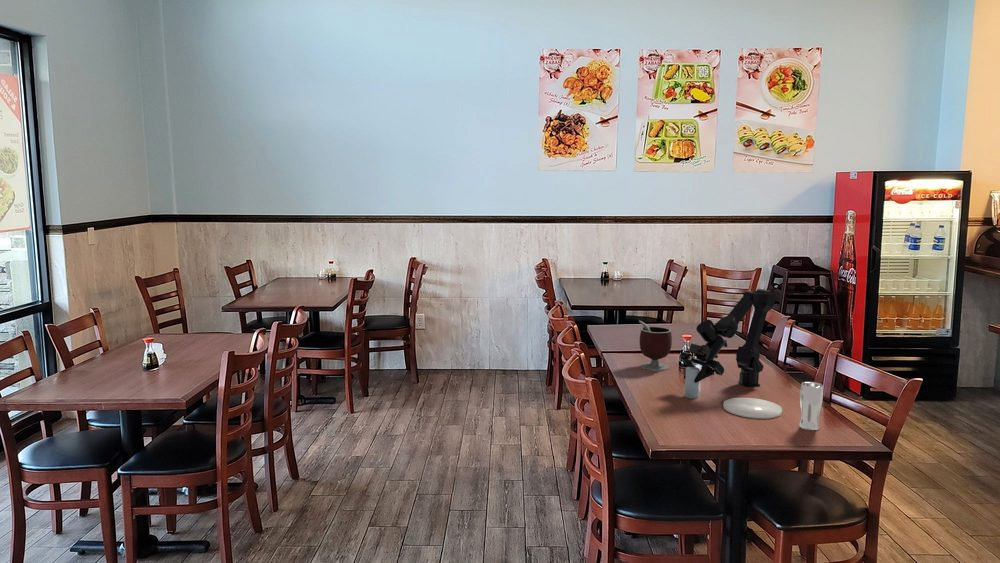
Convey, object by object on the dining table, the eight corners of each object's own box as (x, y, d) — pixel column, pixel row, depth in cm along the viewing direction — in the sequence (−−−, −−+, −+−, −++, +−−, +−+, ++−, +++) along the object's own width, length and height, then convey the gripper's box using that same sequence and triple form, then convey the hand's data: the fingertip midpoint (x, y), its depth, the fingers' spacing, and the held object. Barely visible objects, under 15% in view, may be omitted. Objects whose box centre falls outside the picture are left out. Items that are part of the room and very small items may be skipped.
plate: (764, 399, 264) (764, 396, 264) (793, 417, 245) (793, 414, 245) (714, 401, 262) (714, 398, 262) (738, 419, 242) (739, 416, 242)
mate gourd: (676, 367, 310) (678, 322, 307) (660, 373, 300) (662, 327, 297) (645, 360, 320) (647, 318, 317) (629, 366, 310) (631, 322, 307)
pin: (695, 394, 271) (696, 366, 269) (700, 398, 266) (701, 370, 264) (682, 394, 270) (683, 367, 268) (687, 398, 265) (689, 370, 264)
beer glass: (807, 432, 231) (810, 388, 228) (793, 425, 237) (796, 382, 235) (825, 430, 232) (828, 386, 230) (810, 423, 239) (813, 380, 237)
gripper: (683, 331, 274) (661, 362, 270) (720, 340, 258) (697, 373, 255) (697, 348, 280) (675, 379, 276) (734, 358, 264) (712, 391, 260)
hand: (689, 380), depth 266 cm, fingers closed on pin, 5 cm apart
